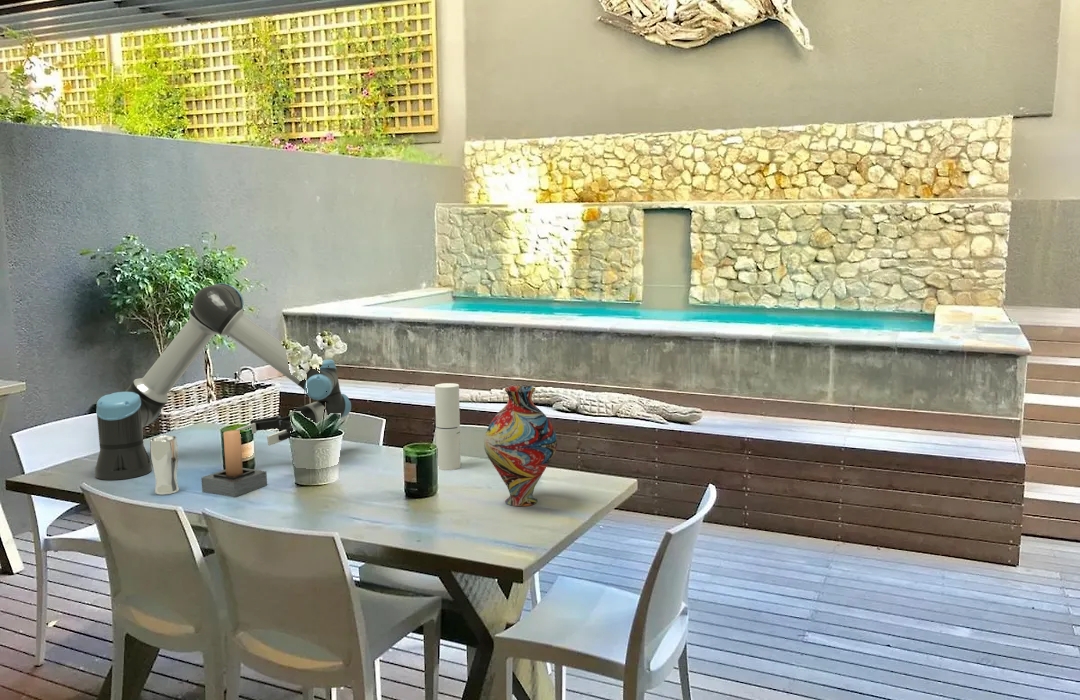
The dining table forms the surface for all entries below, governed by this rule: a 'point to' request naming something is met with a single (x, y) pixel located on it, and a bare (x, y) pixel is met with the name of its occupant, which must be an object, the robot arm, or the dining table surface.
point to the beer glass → (165, 463)
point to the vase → (520, 444)
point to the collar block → (234, 482)
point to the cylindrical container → (448, 426)
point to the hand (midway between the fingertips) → (252, 437)
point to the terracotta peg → (233, 453)
